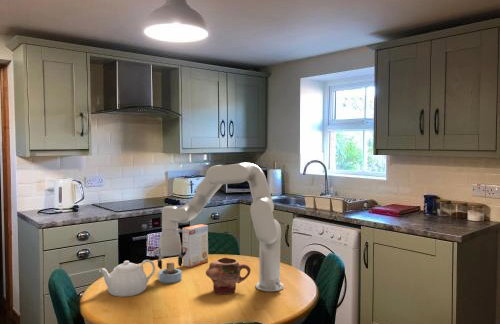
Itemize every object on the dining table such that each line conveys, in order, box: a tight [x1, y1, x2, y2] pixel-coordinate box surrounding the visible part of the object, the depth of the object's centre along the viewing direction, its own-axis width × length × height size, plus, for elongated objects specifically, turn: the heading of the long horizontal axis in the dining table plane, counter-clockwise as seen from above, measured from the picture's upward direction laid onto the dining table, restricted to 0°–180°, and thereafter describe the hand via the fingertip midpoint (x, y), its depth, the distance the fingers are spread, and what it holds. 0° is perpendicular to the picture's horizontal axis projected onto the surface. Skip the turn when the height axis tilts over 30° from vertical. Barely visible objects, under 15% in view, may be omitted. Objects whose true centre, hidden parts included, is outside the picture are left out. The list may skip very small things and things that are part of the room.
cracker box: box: [181, 223, 209, 268], centre depth 231 cm, size 14×6×21 cm, turn 141°
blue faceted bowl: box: [157, 268, 183, 285], centre depth 204 cm, size 11×11×4 cm
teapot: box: [98, 259, 156, 298], centre depth 189 cm, size 19×18×14 cm
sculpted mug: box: [205, 257, 251, 295], centre depth 189 cm, size 20×12×14 cm, turn 103°
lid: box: [166, 262, 175, 274], centre depth 204 cm, size 6×6×7 cm
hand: (170, 267), depth 204 cm, fingers open, 9 cm apart
